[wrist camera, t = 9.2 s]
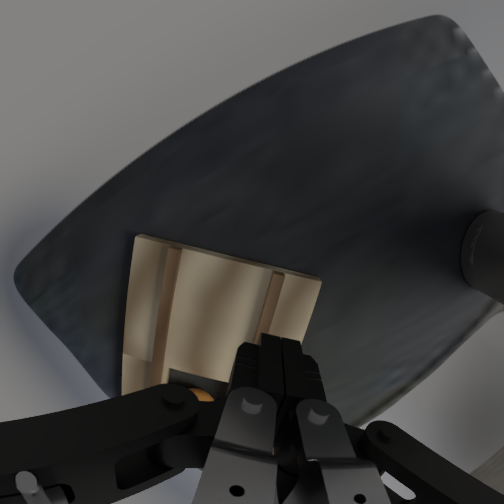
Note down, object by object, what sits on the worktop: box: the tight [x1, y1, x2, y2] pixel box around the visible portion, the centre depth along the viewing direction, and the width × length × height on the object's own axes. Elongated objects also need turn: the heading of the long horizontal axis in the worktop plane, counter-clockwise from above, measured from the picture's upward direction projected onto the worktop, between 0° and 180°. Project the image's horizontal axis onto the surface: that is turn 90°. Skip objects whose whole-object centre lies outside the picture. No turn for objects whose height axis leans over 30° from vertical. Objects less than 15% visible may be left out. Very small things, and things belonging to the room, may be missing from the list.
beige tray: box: [122, 234, 322, 395], centre depth 28 cm, size 17×22×4 cm
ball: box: [188, 388, 214, 401], centre depth 29 cm, size 5×5×5 cm
